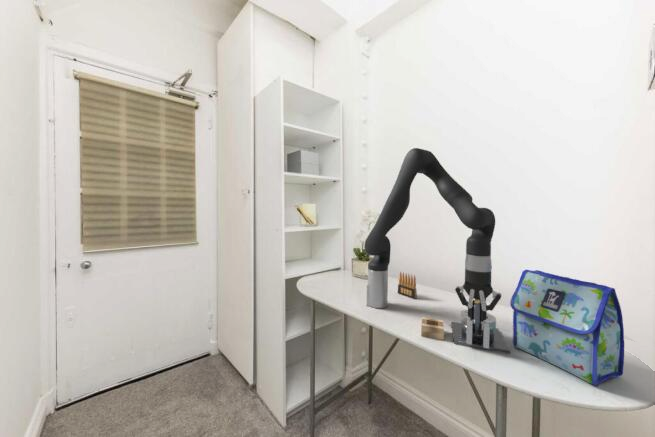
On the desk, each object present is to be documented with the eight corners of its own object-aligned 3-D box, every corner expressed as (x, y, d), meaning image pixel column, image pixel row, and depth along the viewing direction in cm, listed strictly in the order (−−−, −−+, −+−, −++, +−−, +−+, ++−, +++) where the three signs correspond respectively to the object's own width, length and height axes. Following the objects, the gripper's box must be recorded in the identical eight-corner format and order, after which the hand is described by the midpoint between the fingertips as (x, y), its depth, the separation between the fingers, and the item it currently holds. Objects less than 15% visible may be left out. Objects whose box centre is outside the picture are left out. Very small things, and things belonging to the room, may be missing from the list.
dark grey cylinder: (471, 333, 85) (472, 298, 85) (472, 330, 88) (473, 295, 87) (481, 336, 84) (481, 299, 83) (481, 332, 86) (482, 297, 85)
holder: (421, 336, 93) (421, 325, 93) (421, 327, 100) (422, 317, 100) (443, 340, 90) (443, 328, 90) (442, 330, 97) (442, 320, 97)
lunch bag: (504, 348, 85) (507, 270, 84) (537, 338, 91) (540, 266, 90) (593, 393, 65) (598, 291, 63) (627, 377, 71) (632, 284, 69)
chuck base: (454, 343, 88) (455, 313, 87) (450, 323, 103) (451, 298, 102) (510, 353, 82) (511, 321, 81) (497, 331, 97) (498, 303, 96)
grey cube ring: (458, 341, 87) (459, 321, 86) (461, 324, 100) (461, 306, 99) (497, 350, 81) (497, 329, 81) (494, 331, 94) (494, 312, 94)
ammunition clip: (416, 298, 131) (417, 275, 130) (414, 299, 130) (414, 275, 129) (399, 292, 140) (400, 270, 139) (397, 293, 139) (397, 271, 138)
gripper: (452, 267, 86) (451, 318, 87) (503, 273, 78) (501, 329, 78) (456, 263, 92) (455, 311, 93) (503, 268, 84) (502, 321, 84)
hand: (477, 319), depth 85 cm, fingers closed on dark grey cylinder, 2 cm apart
